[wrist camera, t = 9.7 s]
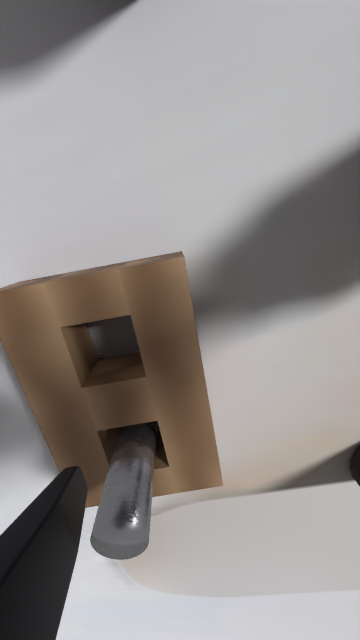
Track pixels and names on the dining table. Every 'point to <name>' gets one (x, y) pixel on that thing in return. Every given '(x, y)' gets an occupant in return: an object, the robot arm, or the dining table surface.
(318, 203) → the dining table surface
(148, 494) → the peg
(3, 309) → the peg board
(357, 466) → the vinegar
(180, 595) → the dining table surface
